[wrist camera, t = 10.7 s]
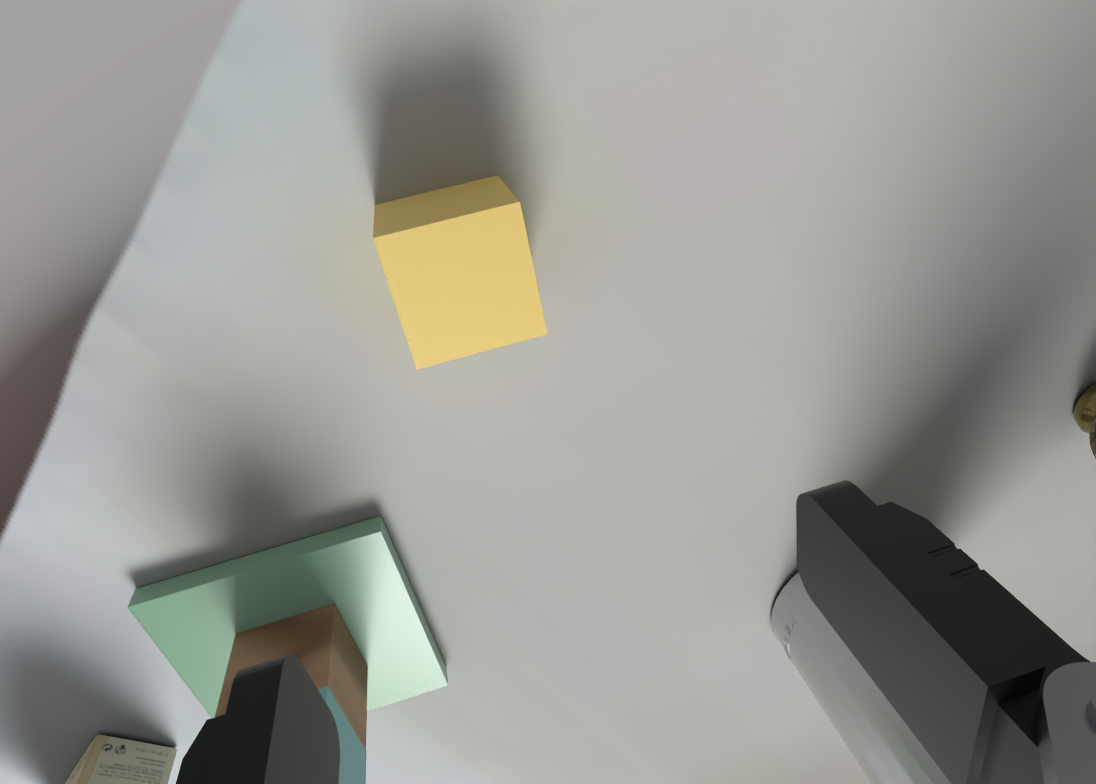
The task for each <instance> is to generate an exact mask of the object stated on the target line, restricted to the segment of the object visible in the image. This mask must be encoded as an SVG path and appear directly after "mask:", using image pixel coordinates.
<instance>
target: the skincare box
mask: <svg viewBox="0 0 1096 784" xmlns="http://www.w3.org/2000/svg"><path fill="white" fill-rule="evenodd" d="M176 751H177V750H176V749H175V748H170V747H165V746H160V745H154V744H149V743H144V742H139V741H133V740H128V739H122V738H116V737H110V736H105V735H96V736H95V738H94V739H93V741H92V742H91V744H90V745H89V747H88V748H87V750H86V751H85V753H84V754H83V756H82V757H81V759H80V760H79V762H78V763H77V765H76V766H75V768H74V769H73V771H72V773H71V774H70V776H69V777H68V779H67V781H66V782H65V784H168V780H169V777H170V773H171V769H172V766H173V762H174V759H175V756H176Z"/></svg>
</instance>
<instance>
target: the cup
mask: <svg viewBox="0 0 1096 784" xmlns="http://www.w3.org/2000/svg"><path fill="white" fill-rule="evenodd" d="M1074 419H1075V421H1076V423H1077V425H1078V426H1079V427H1080V429H1081V430H1083V431H1084V432H1086V433H1088V434H1090V446H1091V450H1092V452H1093V454H1094V456H1095V458H1096V383H1095V384H1093V385H1092V386H1091V387H1089V388H1088V389H1087V390H1086V391H1085V392H1084V393H1083V394H1082V395H1081V397H1080V398H1079V400H1078V401H1077V403H1076V406H1075V408H1074Z"/></svg>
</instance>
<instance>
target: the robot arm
mask: <svg viewBox="0 0 1096 784" xmlns="http://www.w3.org/2000/svg"><path fill="white" fill-rule="evenodd" d="M796 512H797V566H798V571H799V572H798V573H797V574H796V575H795V576H793V577H792V578H791V580H790V581H789V582H788V583H787V584H786V585H785V587H784V588H783V589H782V591H781V592H780V594H779V596H778V597H777V599H776V601H775V604H774V607H773V610H772V616H771V624H772V629H773V632H774V633H775V635H776V637H777V639H778V640H779V642H780V643H781V645H782V646H783V648H784V650H785V652H786V653H787V655H788V657H789V659H790V660H791V662H792V663H793V664H794V666H796V668H797V670H798V671H799V673H800V674H801V676H802V677H803V679H804V680H805V682H806V683H807V685H808V687H809V688H810V690H811V691H812V693H813V694H814V696H815V697H816V699H817V700H818V702H819V703H820V705H821V707H822V708H823V710H824V711H825V713H826V714H827V716H828V717H829V719H830V720H831V722H832V723H833V725H834V726H835V728H836V729H837V731H838V733H839V734H840V736H841V737H842V739H843V740H844V742H845V743H846V745H847V746H848V748H849V749H850V751H851V752H852V754H853V755H854V757H855V759H856V760H857V762H858V763H859V765H860V766H861V768H862V769H863V771H864V772H865V774H866V775H867V777H868V778H869V780H870V781H871V783H872V784H1096V662H1090V661H1089V660H1087V659H1086V658H1084V657H1083V656H1081V655H1080V654H1079V653H1078V652H1076V651H1075V650H1074V649H1073V648H1072V647H1070V646H1069V645H1068V644H1067V643H1066V642H1065V641H1064V640H1063V639H1061V638H1060V637H1059V636H1058V635H1057V634H1056V633H1055V632H1054V631H1052V630H1051V629H1050V628H1049V627H1048V626H1047V625H1046V624H1044V623H1043V622H1042V621H1041V620H1040V619H1039V618H1038V617H1037V616H1035V615H1034V614H1033V613H1032V612H1031V611H1030V610H1029V609H1028V608H1026V607H1025V606H1024V605H1023V604H1022V603H1021V602H1020V601H1019V600H1017V599H1016V598H1015V597H1014V596H1013V595H1012V594H1011V593H1010V592H1008V591H1007V590H1006V589H1005V588H1004V587H1003V586H1002V585H1001V584H999V583H998V582H997V581H996V580H995V579H994V578H993V577H992V576H990V575H989V574H988V573H987V572H986V571H985V570H980V569H979V568H978V564H977V563H976V562H975V561H974V560H972V559H971V558H970V557H969V556H968V555H967V554H966V553H964V552H963V551H962V550H961V549H957V548H956V547H955V545H954V543H953V542H952V541H951V540H950V539H949V538H948V537H946V536H945V535H944V534H943V533H942V532H941V531H940V530H939V529H937V528H936V527H935V526H934V525H933V524H932V523H931V522H930V521H928V520H927V519H926V518H924V517H922V516H919V515H917V514H915V513H913V512H911V511H909V510H907V509H905V508H903V507H901V506H899V505H896V504H894V503H892V502H889V503H886V504H882V505H879V506H877V505H876V504H875V503H874V502H872V501H871V500H870V499H869V498H868V497H867V496H866V495H865V494H864V493H863V492H862V491H861V490H860V489H859V488H858V487H857V486H855V485H854V484H853V483H851V482H849V481H841V482H837V483H834V484H831V485H828V486H825V487H822V488H819V489H815V490H812V491H809V492H806V493H803V494H800V495H799V496H798V498H797V505H796ZM339 767H340V742H339V735H338V730H337V726H336V722H335V719H334V717H333V714H332V712H331V710H330V709H329V707H328V705H327V704H326V702H325V701H324V699H323V697H322V696H321V694H320V692H319V691H318V689H317V687H316V686H315V684H314V683H313V681H312V679H311V678H310V676H309V674H308V673H307V671H306V669H305V668H304V666H303V665H302V663H301V661H300V660H299V658H298V657H297V656H296V655H294V654H288V655H285V656H282V657H279V658H276V659H272V660H269V661H266V662H263V663H260V664H257V665H253V666H250V667H247V668H244V669H241V670H239V671H238V672H237V674H236V675H235V677H234V680H233V683H232V687H231V692H230V696H229V700H228V705H227V709H226V713H225V714H224V715H221V716H218V717H215V718H212V719H208V720H207V721H206V722H205V724H204V726H203V727H202V729H201V731H200V732H199V734H198V735H197V737H196V739H195V740H194V742H193V743H192V745H191V747H190V748H189V750H188V752H187V753H186V755H185V756H184V758H183V760H182V764H181V767H180V771H179V774H178V778H177V782H176V784H339Z"/></svg>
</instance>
